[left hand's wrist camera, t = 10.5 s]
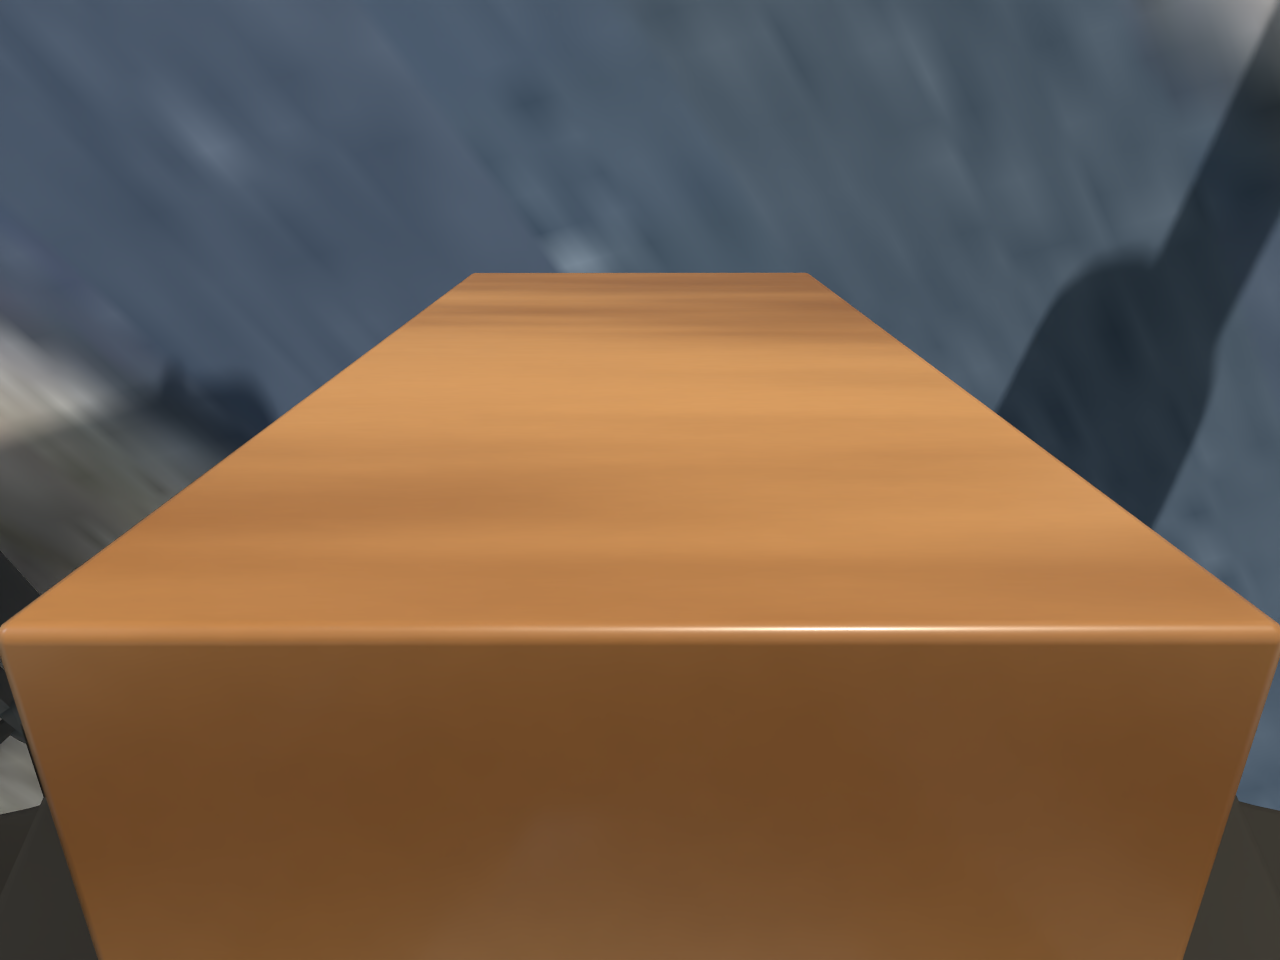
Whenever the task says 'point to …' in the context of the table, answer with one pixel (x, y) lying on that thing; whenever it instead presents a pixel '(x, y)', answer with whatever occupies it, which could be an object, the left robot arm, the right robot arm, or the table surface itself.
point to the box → (640, 661)
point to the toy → (3, 597)
